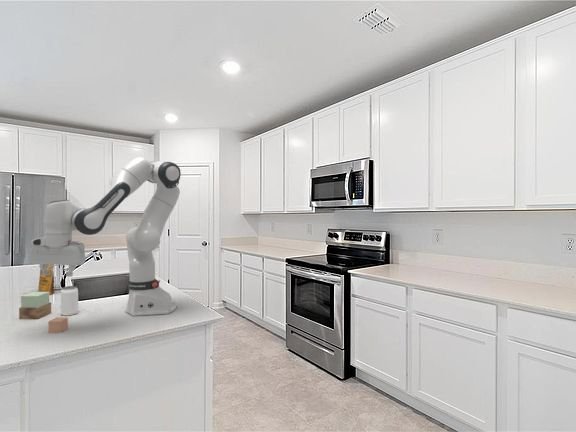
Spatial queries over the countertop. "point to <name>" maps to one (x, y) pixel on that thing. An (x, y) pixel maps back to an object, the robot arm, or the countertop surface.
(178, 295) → the countertop surface
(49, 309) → the tower base
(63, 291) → the can
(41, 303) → the tower top
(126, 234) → the robot arm
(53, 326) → the cube
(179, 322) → the countertop surface
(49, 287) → the pancake mix bag
